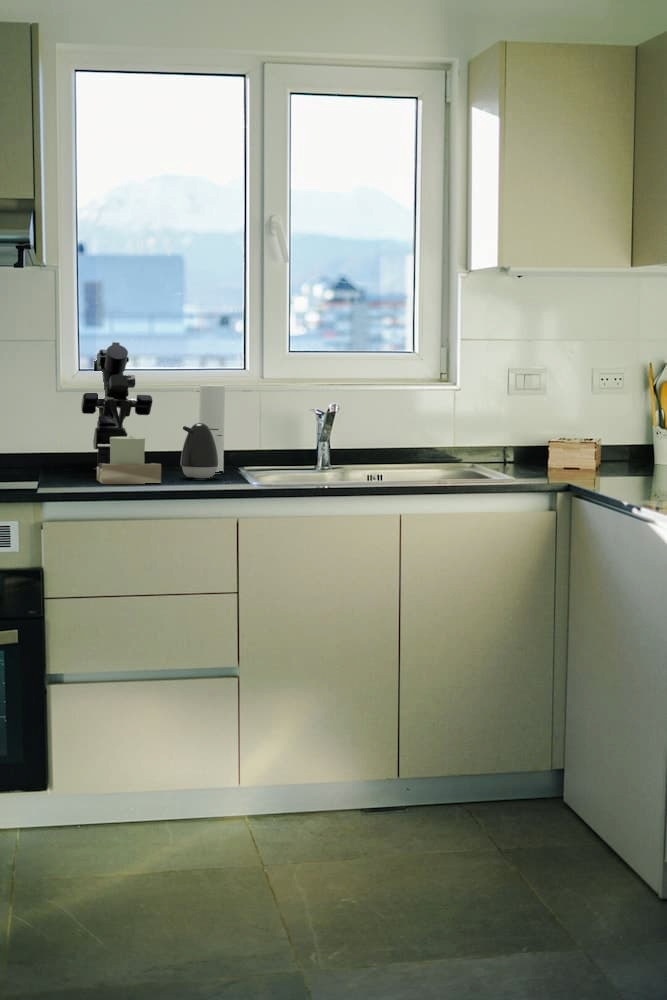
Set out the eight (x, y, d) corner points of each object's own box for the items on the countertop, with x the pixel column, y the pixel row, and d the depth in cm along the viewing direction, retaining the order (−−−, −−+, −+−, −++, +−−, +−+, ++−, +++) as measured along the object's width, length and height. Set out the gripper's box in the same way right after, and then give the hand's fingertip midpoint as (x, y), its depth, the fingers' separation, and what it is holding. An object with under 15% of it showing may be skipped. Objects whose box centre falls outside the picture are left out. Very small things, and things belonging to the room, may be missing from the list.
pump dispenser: (172, 477, 334) (173, 422, 332) (205, 476, 341) (205, 421, 339) (192, 481, 326) (193, 424, 325) (225, 479, 333) (226, 423, 331)
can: (119, 483, 314) (120, 437, 312) (102, 480, 321) (103, 435, 320) (151, 482, 319) (151, 436, 318) (134, 479, 327) (134, 434, 325)
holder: (96, 480, 322) (96, 461, 321) (153, 479, 327) (153, 461, 326) (102, 484, 312) (102, 464, 311) (161, 483, 317) (161, 464, 316)
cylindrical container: (195, 471, 356) (196, 385, 353) (218, 471, 359) (219, 385, 356) (203, 473, 349) (204, 385, 346) (226, 473, 352) (228, 386, 349)
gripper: (83, 363, 331) (88, 405, 322) (152, 365, 337) (158, 407, 328) (79, 391, 339) (83, 433, 330) (146, 393, 345) (152, 435, 336)
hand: (120, 426), depth 331 cm, fingers closed
